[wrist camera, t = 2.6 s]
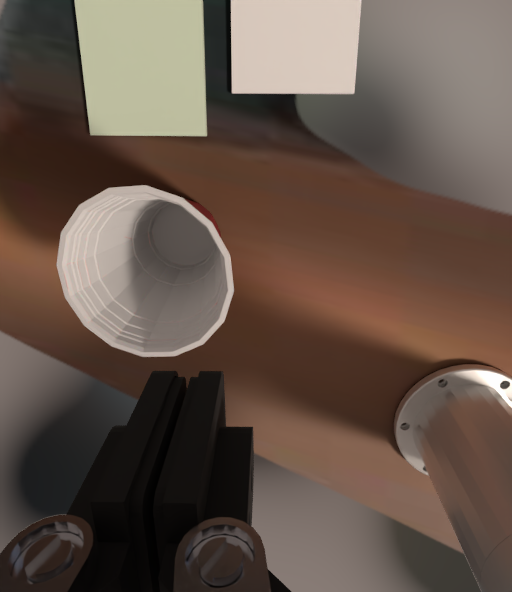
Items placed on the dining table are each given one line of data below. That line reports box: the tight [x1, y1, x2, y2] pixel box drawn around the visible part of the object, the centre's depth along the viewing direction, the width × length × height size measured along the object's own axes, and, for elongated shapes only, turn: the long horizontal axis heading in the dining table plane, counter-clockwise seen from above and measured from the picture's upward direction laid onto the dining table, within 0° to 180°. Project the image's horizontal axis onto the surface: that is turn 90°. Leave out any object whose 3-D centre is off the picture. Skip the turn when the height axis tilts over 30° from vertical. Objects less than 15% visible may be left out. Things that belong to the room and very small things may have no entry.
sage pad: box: [74, 0, 207, 136], centre depth 33 cm, size 9×9×1 cm
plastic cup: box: [57, 185, 234, 357], centre depth 31 cm, size 11×11×12 cm
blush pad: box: [231, 0, 361, 94], centre depth 31 cm, size 9×9×1 cm
